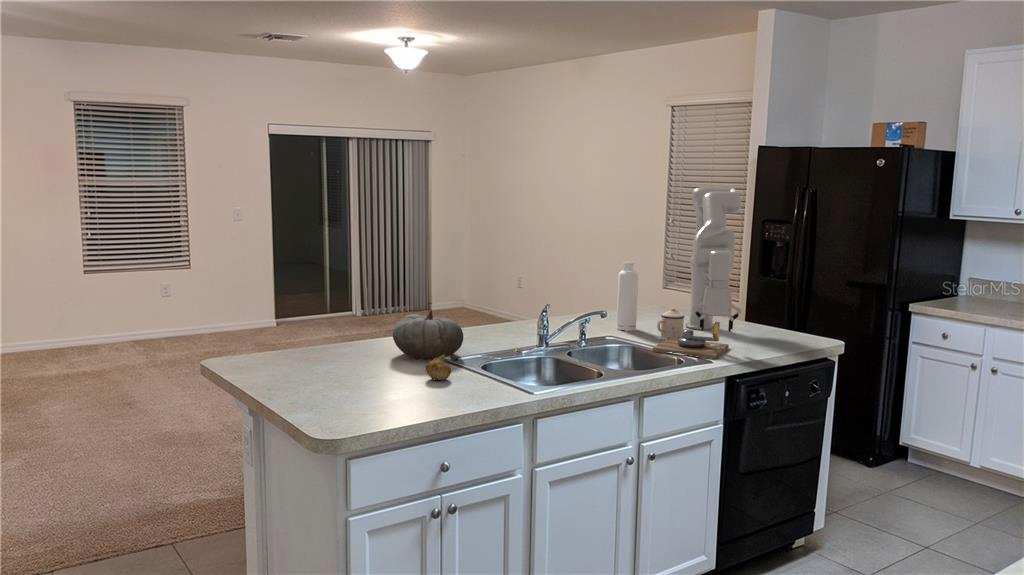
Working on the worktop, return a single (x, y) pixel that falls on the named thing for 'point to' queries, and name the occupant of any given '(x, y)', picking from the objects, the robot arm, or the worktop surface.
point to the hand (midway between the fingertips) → (715, 330)
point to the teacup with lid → (671, 324)
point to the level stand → (691, 348)
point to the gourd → (427, 336)
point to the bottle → (627, 297)
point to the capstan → (698, 337)
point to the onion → (439, 368)
